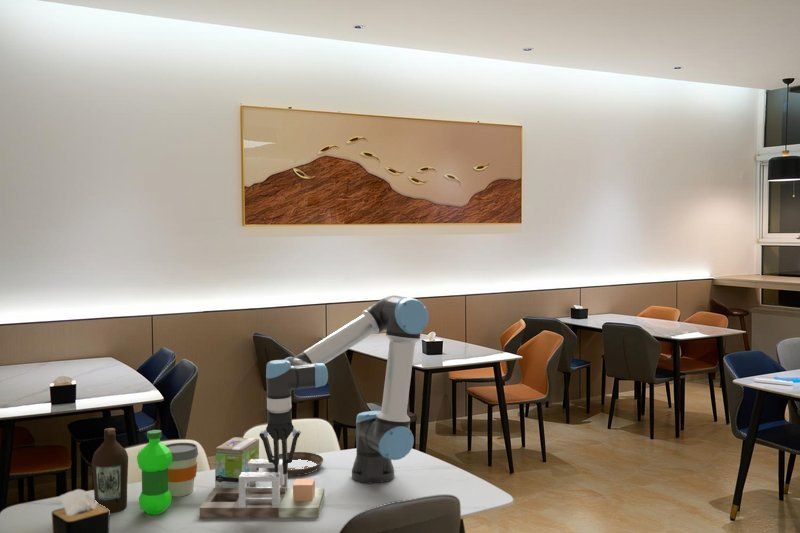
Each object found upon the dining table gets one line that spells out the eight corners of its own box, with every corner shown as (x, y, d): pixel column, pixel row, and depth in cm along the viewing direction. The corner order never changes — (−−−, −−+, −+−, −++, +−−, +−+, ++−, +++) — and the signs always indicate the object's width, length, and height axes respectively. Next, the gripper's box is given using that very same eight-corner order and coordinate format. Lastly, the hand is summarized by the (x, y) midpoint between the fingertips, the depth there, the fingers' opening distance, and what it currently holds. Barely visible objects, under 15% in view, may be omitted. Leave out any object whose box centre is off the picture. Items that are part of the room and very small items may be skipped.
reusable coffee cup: (206, 488, 256) (205, 444, 255) (181, 500, 244) (180, 454, 244) (177, 483, 261) (176, 440, 260) (151, 495, 249) (150, 450, 249)
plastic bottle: (139, 519, 228) (138, 437, 227) (137, 508, 237) (135, 429, 236) (174, 514, 232) (173, 434, 231) (170, 503, 241) (169, 426, 240)
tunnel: (287, 487, 247) (287, 459, 247) (278, 507, 229) (278, 476, 229) (250, 487, 247) (250, 459, 247) (239, 507, 229) (238, 476, 229)
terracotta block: (314, 494, 241) (314, 478, 241) (312, 501, 235) (312, 485, 235) (295, 494, 241) (295, 478, 241) (293, 501, 235) (292, 485, 235)
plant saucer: (320, 477, 268) (319, 468, 268) (261, 477, 268) (261, 468, 268) (326, 460, 289) (326, 451, 288) (272, 460, 289) (272, 451, 289)
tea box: (242, 493, 251) (242, 449, 250) (214, 491, 253) (213, 447, 252) (259, 479, 266) (259, 437, 265) (233, 477, 268) (232, 436, 267)
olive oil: (95, 503, 242) (94, 426, 241) (131, 500, 244) (129, 424, 243) (90, 515, 231) (88, 434, 230) (126, 512, 234) (125, 432, 233)
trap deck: (324, 497, 247) (324, 487, 247) (318, 517, 229) (318, 507, 229) (214, 497, 247) (214, 488, 247) (199, 517, 229) (199, 507, 229)
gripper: (301, 406, 241) (303, 479, 242) (260, 407, 241) (263, 480, 242) (298, 412, 233) (300, 488, 235) (256, 413, 233) (258, 488, 235)
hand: (281, 484), depth 238 cm, fingers closed
